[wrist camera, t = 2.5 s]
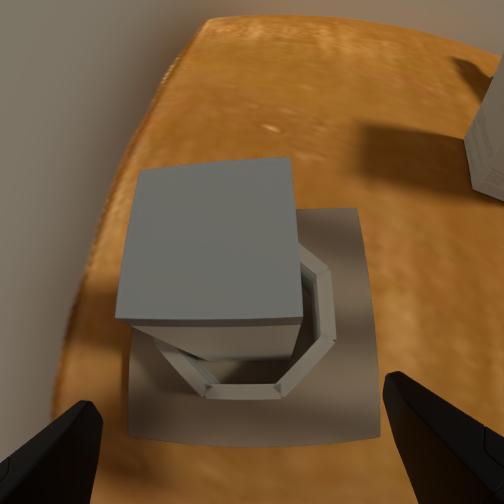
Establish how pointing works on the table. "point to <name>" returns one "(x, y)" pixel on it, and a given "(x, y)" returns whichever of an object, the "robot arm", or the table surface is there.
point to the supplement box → (488, 140)
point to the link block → (215, 260)
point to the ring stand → (276, 363)
